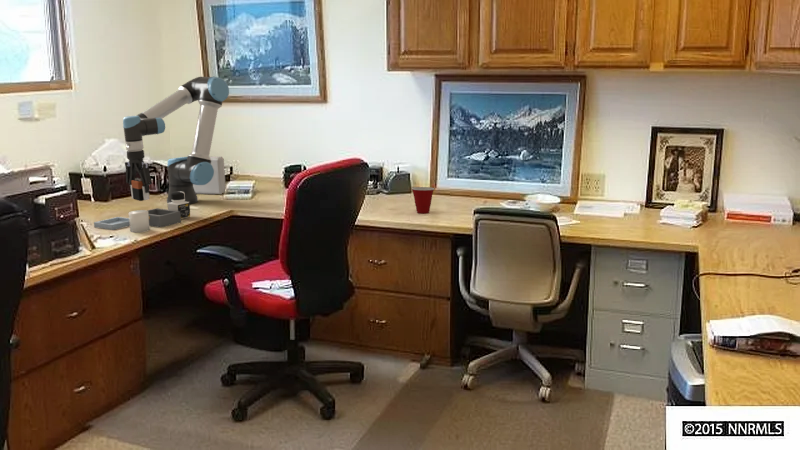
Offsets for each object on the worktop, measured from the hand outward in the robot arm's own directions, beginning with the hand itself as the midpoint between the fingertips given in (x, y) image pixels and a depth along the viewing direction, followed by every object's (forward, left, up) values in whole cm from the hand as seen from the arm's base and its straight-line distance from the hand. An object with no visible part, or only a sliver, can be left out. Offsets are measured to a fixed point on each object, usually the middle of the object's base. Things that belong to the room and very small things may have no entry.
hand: (140, 198), depth 353 cm
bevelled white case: (-58, -17, -8) cm, 61 cm away
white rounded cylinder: (+21, +23, -8) cm, 32 cm away
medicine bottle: (-6, +18, -8) cm, 21 cm away
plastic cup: (-69, +112, -8) cm, 132 cm away
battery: (0, 0, -1) cm, 1 cm away
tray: (+20, +6, -8) cm, 22 cm away
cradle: (+7, +19, -8) cm, 22 cm away
